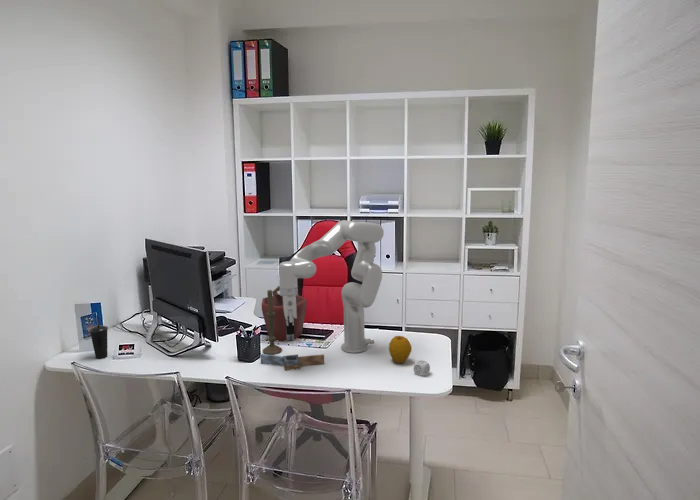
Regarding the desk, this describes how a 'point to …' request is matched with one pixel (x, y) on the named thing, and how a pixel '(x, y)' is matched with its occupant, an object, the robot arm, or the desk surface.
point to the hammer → (292, 360)
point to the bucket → (283, 316)
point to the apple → (399, 349)
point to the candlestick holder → (271, 329)
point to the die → (421, 367)
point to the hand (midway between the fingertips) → (290, 332)
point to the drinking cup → (99, 340)
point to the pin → (289, 337)
